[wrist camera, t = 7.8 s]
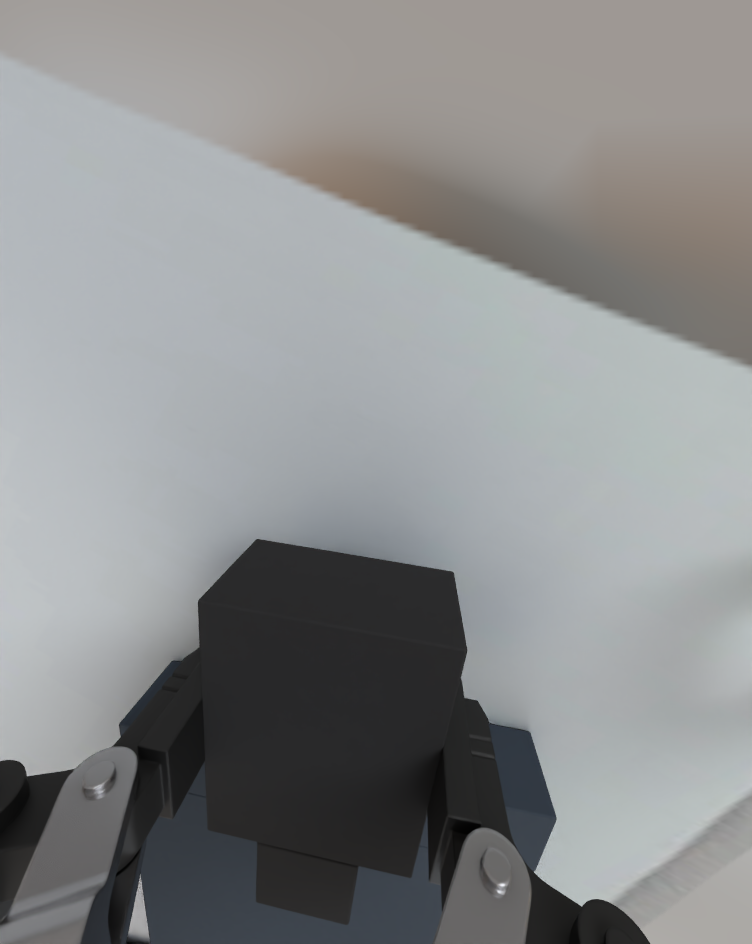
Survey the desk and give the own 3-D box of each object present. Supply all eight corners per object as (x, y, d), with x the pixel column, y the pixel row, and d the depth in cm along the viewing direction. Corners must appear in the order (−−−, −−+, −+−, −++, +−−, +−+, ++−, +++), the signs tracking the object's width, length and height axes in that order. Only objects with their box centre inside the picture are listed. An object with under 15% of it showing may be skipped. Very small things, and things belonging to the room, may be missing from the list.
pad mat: (172, 659, 16) (117, 724, 13) (530, 730, 15) (557, 819, 12) (190, 910, 22) (156, 992, 19) (446, 975, 20) (450, 1074, 18)
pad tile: (256, 537, 11) (196, 600, 8) (453, 570, 10) (468, 650, 7) (252, 783, 14) (209, 892, 11) (401, 817, 13) (397, 938, 10)
